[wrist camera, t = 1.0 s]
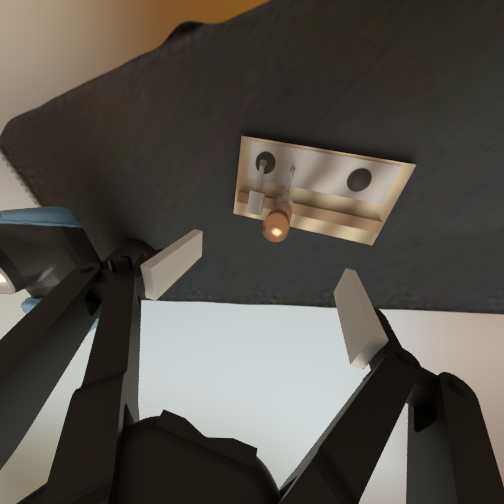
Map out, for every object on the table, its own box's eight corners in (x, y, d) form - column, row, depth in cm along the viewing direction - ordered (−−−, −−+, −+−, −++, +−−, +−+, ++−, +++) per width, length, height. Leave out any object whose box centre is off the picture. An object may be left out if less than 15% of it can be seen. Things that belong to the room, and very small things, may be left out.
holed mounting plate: (235, 211, 39) (227, 218, 35) (243, 136, 32) (234, 133, 28) (370, 242, 35) (379, 254, 31) (412, 164, 28) (432, 165, 24)
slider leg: (273, 213, 35) (259, 240, 24) (284, 163, 31) (273, 166, 19) (290, 217, 35) (284, 246, 23) (303, 166, 30) (305, 172, 19)
